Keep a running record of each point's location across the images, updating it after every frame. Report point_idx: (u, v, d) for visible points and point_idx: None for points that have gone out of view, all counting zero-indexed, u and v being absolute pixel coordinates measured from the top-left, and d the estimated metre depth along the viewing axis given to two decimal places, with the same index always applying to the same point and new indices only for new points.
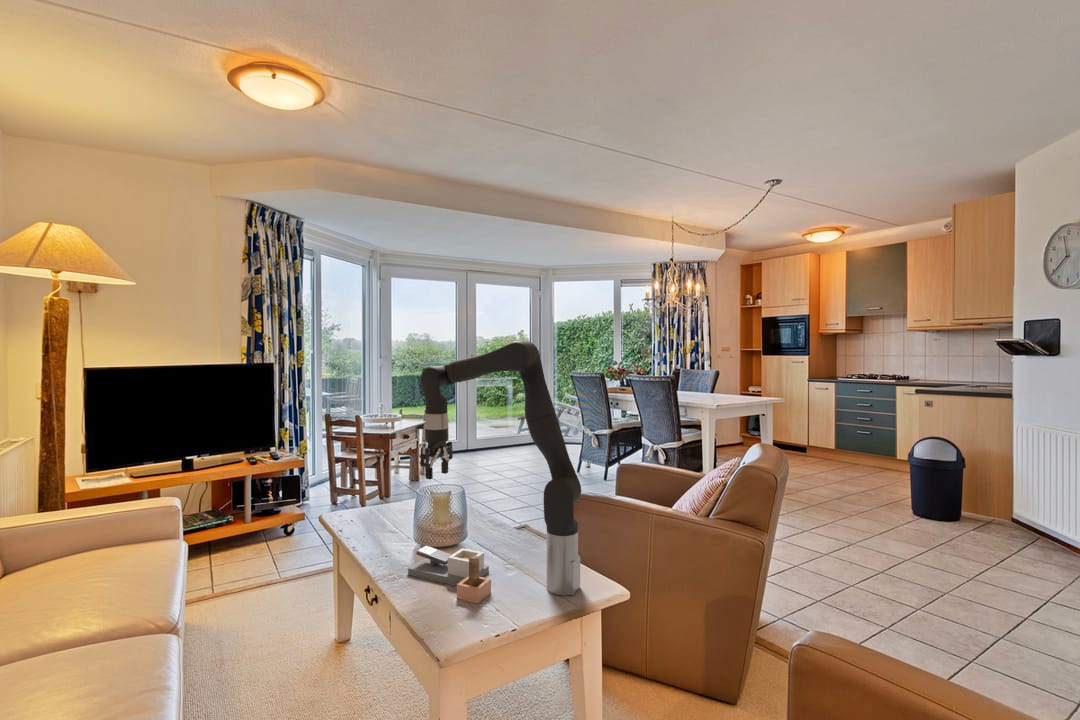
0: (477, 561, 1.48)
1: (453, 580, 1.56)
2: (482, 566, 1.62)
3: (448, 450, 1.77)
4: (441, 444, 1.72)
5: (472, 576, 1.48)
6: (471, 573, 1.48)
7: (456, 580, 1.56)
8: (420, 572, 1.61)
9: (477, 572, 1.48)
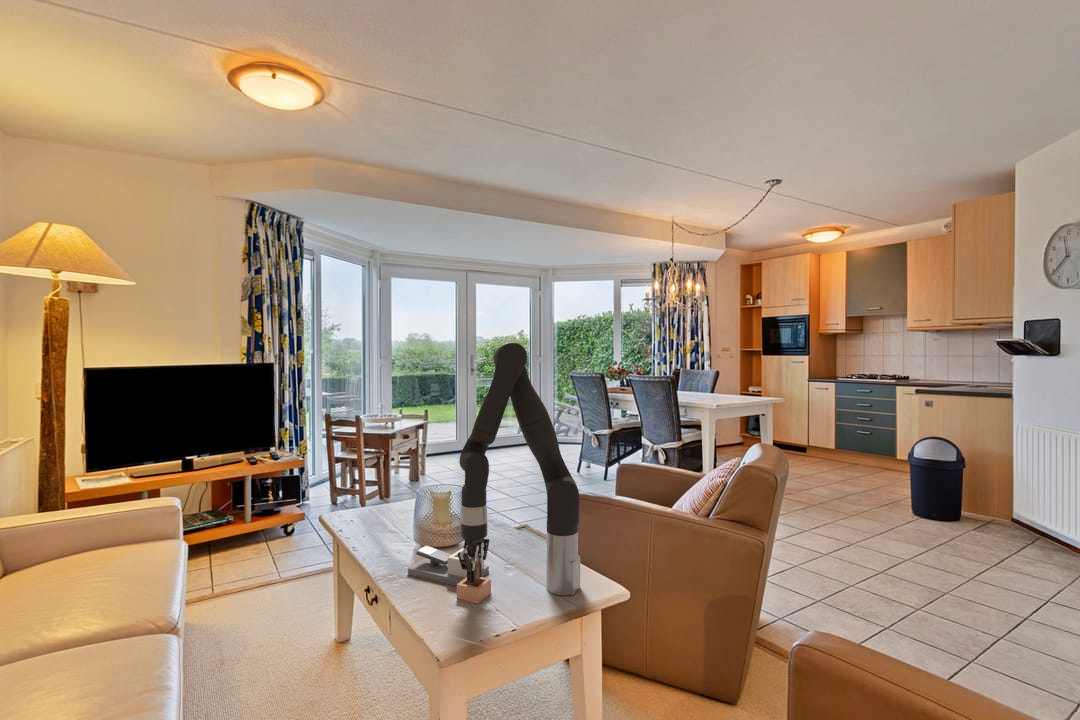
0: (477, 561, 1.48)
1: (453, 580, 1.56)
2: (482, 566, 1.62)
3: (483, 548, 1.53)
4: (479, 539, 1.50)
5: None
6: None
7: (456, 580, 1.56)
8: (420, 572, 1.61)
9: (477, 572, 1.48)
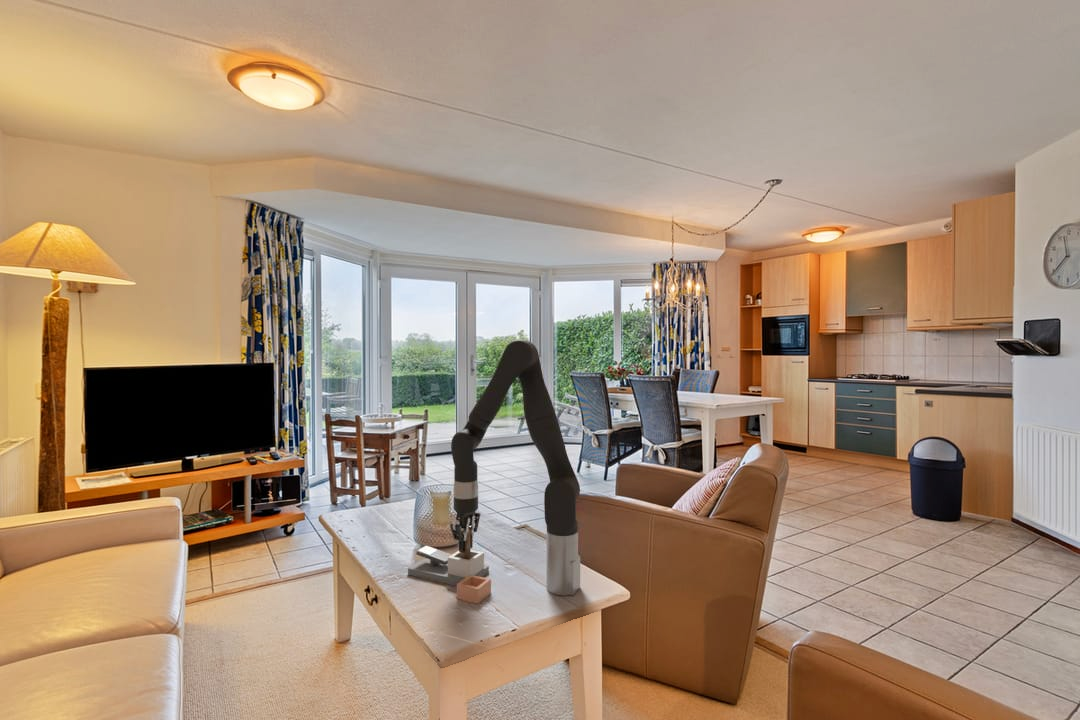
0: (468, 532, 1.60)
1: (453, 580, 1.56)
2: (482, 566, 1.62)
3: (474, 521, 1.65)
4: (470, 512, 1.61)
5: None
6: None
7: (456, 580, 1.56)
8: (420, 572, 1.61)
9: (468, 542, 1.60)
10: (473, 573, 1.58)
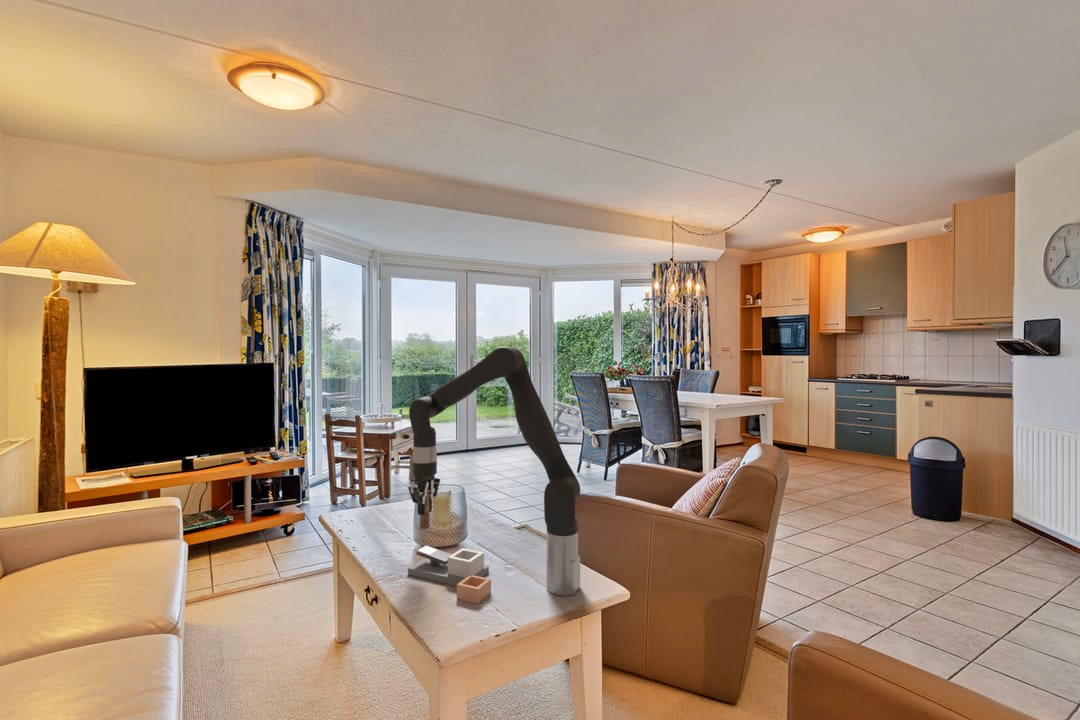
0: (427, 496, 1.66)
1: (453, 580, 1.56)
2: (482, 566, 1.62)
3: (434, 486, 1.71)
4: (429, 477, 1.67)
5: None
6: None
7: (456, 580, 1.56)
8: (420, 572, 1.61)
9: (427, 506, 1.66)
10: (473, 573, 1.58)
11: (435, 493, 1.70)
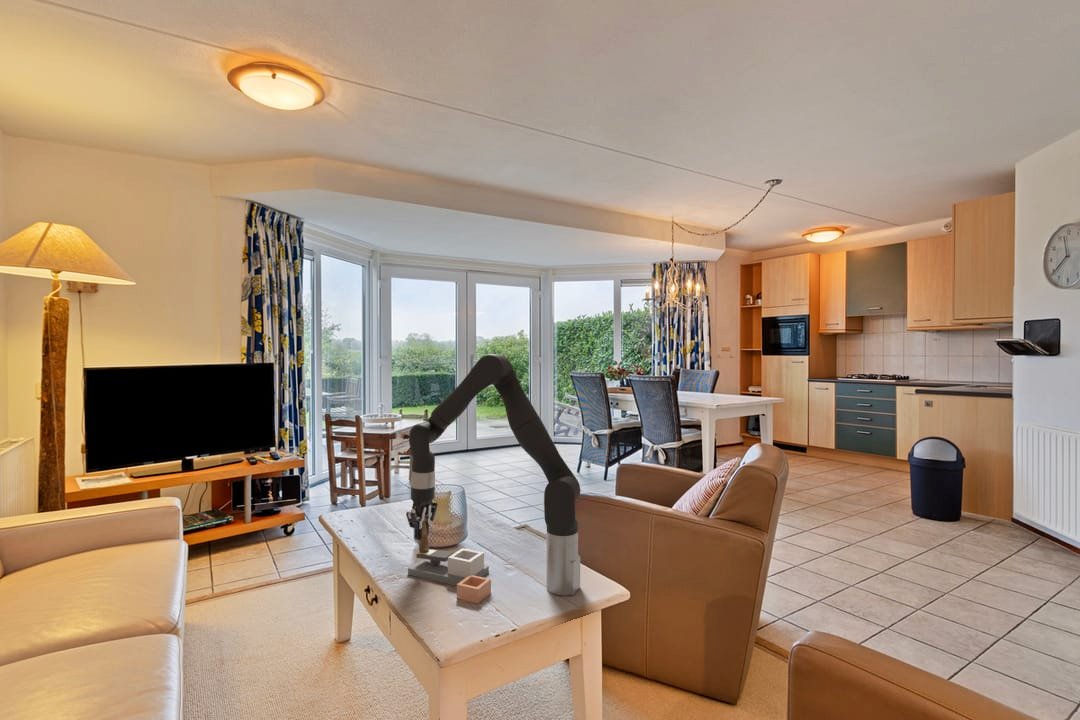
0: None
1: (453, 580, 1.56)
2: (482, 566, 1.62)
3: (431, 511, 1.72)
4: (427, 502, 1.68)
5: None
6: None
7: (456, 580, 1.56)
8: (420, 572, 1.61)
9: (424, 529, 1.67)
10: (473, 573, 1.58)
11: (432, 517, 1.71)
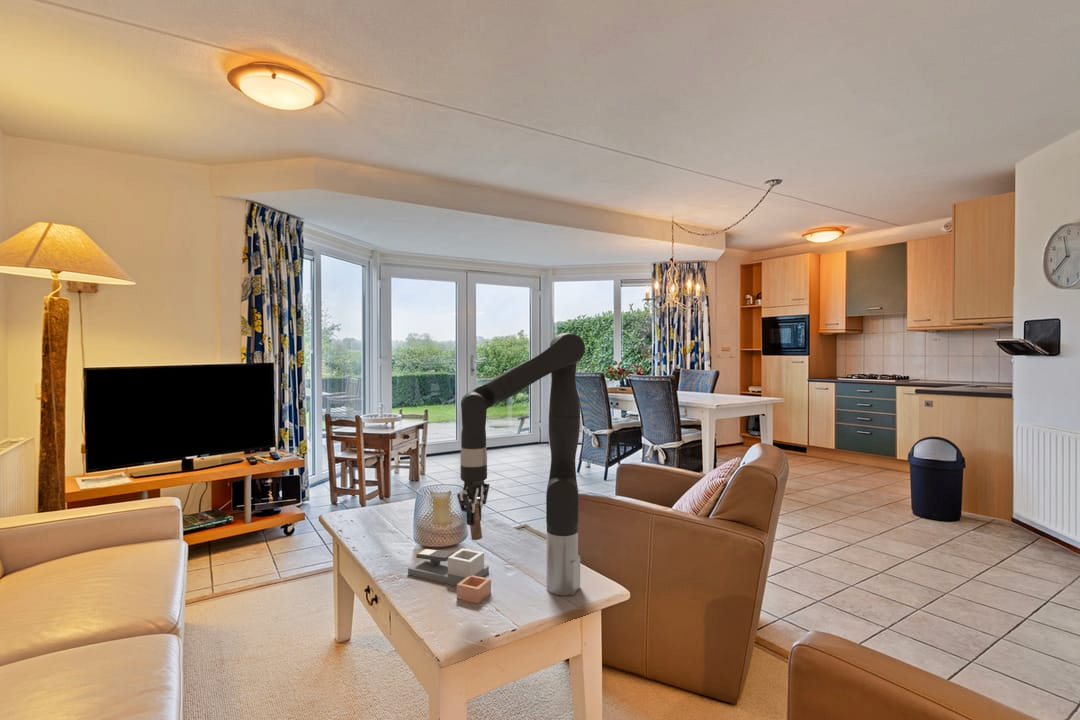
0: None
1: (453, 580, 1.56)
2: (482, 566, 1.62)
3: (483, 493, 1.53)
4: (479, 482, 1.49)
5: None
6: None
7: (456, 580, 1.56)
8: (420, 572, 1.61)
9: (477, 513, 1.48)
10: (473, 573, 1.58)
11: (484, 500, 1.52)
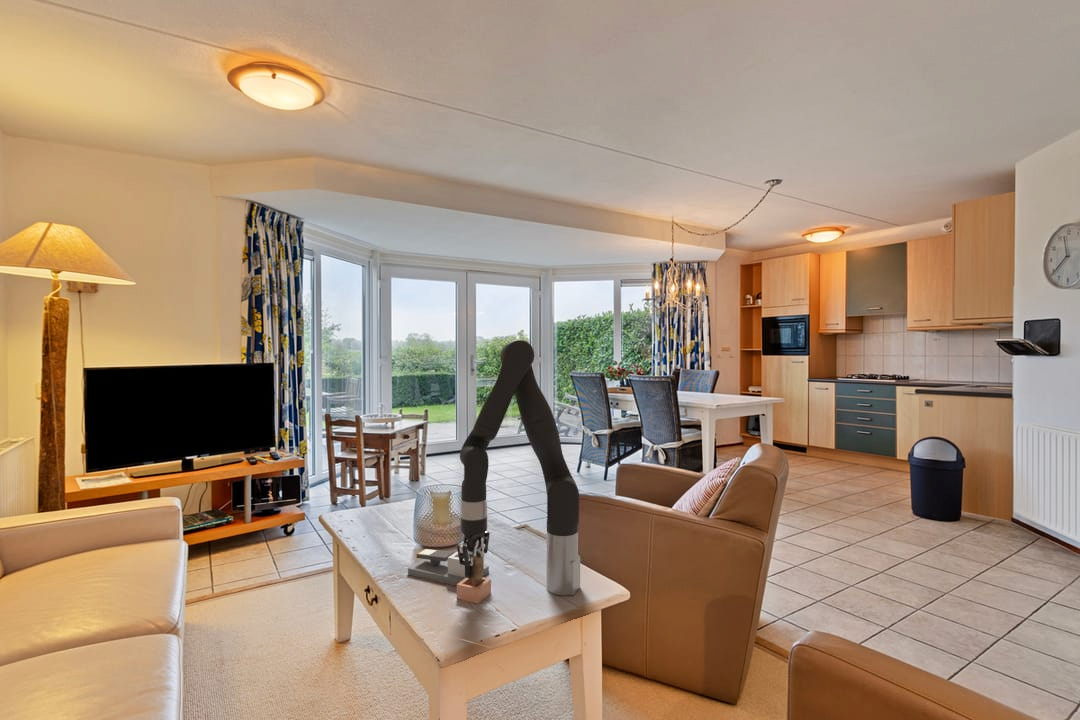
0: (480, 562, 1.48)
1: (453, 580, 1.56)
2: None
3: (484, 542, 1.53)
4: (479, 534, 1.50)
5: (475, 576, 1.48)
6: (474, 573, 1.48)
7: (456, 580, 1.56)
8: (420, 572, 1.61)
9: (480, 573, 1.48)
10: None
11: (486, 549, 1.53)
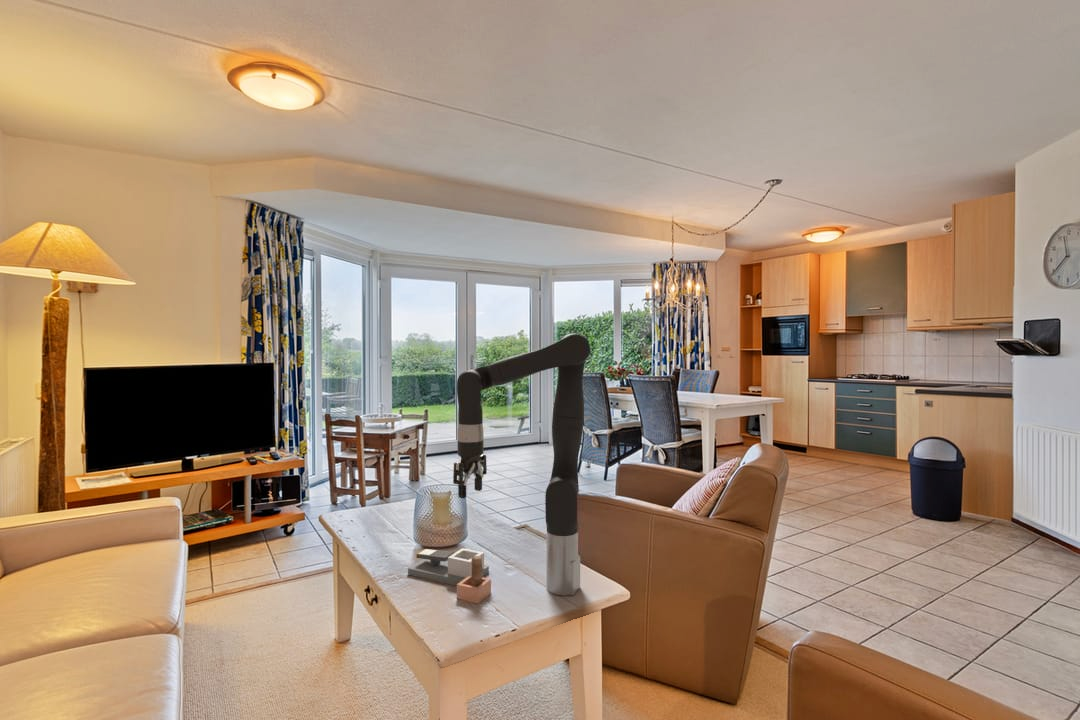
0: (480, 562, 1.48)
1: (453, 580, 1.56)
2: (482, 566, 1.62)
3: (482, 464, 1.58)
4: (475, 458, 1.53)
5: (475, 576, 1.48)
6: (474, 573, 1.48)
7: (456, 580, 1.56)
8: (420, 572, 1.61)
9: (480, 573, 1.48)
10: None
11: (485, 471, 1.58)
